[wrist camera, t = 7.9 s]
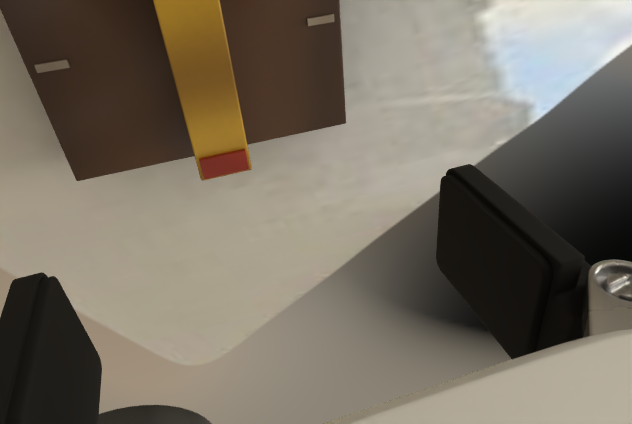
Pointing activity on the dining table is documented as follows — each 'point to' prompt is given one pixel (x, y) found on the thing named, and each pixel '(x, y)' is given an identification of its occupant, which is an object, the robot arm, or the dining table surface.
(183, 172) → the dining table surface
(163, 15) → the yellow block
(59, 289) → the robot arm
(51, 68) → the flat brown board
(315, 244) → the dining table surface
